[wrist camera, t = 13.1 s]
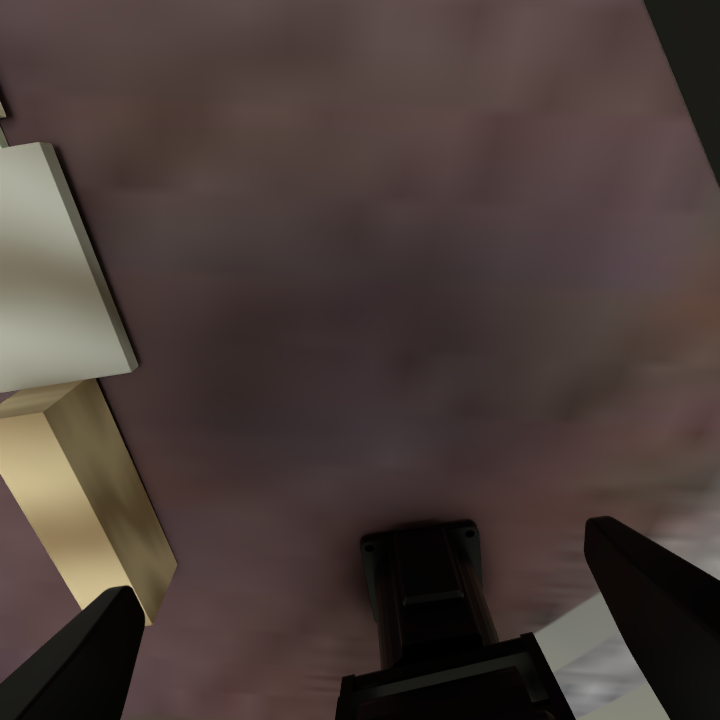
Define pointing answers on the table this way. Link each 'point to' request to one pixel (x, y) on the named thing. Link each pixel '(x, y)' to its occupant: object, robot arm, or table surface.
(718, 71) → the tablet
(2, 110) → the tile
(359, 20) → the table surface
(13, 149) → the turner
